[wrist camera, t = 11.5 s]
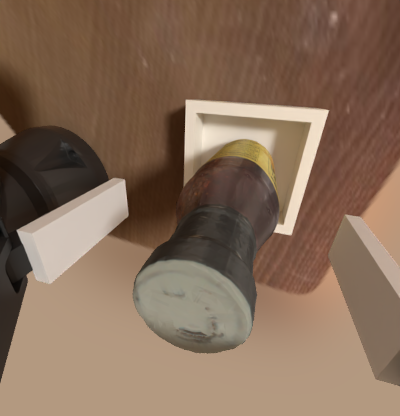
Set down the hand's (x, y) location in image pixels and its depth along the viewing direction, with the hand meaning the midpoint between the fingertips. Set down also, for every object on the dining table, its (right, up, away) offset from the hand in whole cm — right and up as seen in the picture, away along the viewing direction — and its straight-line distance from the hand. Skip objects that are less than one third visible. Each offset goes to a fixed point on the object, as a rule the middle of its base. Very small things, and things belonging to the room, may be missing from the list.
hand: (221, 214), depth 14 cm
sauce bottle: (+4, +5, +11) cm, 13 cm away
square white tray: (+4, +6, +12) cm, 13 cm away
